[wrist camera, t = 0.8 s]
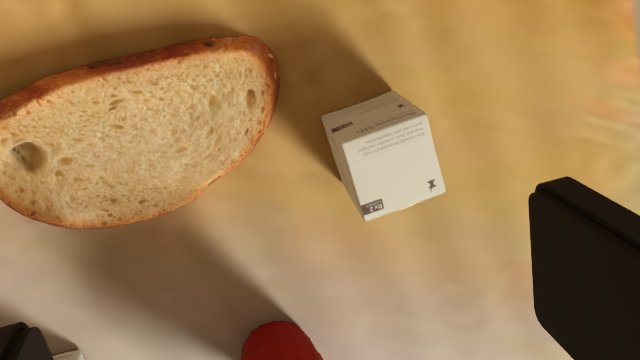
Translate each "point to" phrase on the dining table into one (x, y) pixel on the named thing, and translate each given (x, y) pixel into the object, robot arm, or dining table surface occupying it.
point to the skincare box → (384, 154)
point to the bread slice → (134, 132)
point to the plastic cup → (279, 343)
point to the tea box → (70, 356)
